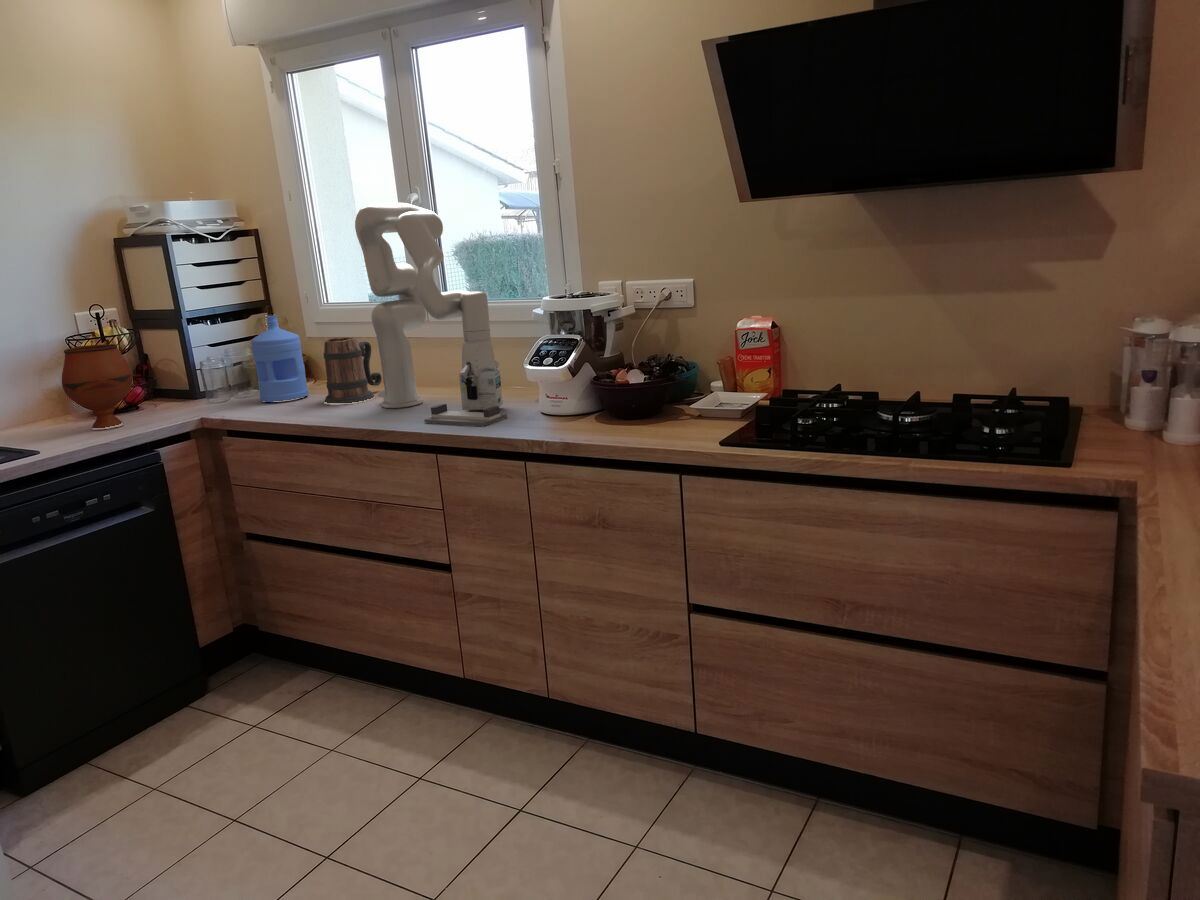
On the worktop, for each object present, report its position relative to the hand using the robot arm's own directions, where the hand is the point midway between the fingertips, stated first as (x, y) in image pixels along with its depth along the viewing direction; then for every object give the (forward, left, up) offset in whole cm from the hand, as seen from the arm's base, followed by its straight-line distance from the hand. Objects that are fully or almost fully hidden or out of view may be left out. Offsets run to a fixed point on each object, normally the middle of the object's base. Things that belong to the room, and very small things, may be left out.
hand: (482, 396), depth 249 cm
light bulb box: (0, 0, -4) cm, 4 cm away
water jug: (-85, +3, -5) cm, 85 cm away
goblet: (-110, -44, -4) cm, 119 cm away
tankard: (-58, +9, -5) cm, 59 cm away
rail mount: (+3, -12, -4) cm, 13 cm away
